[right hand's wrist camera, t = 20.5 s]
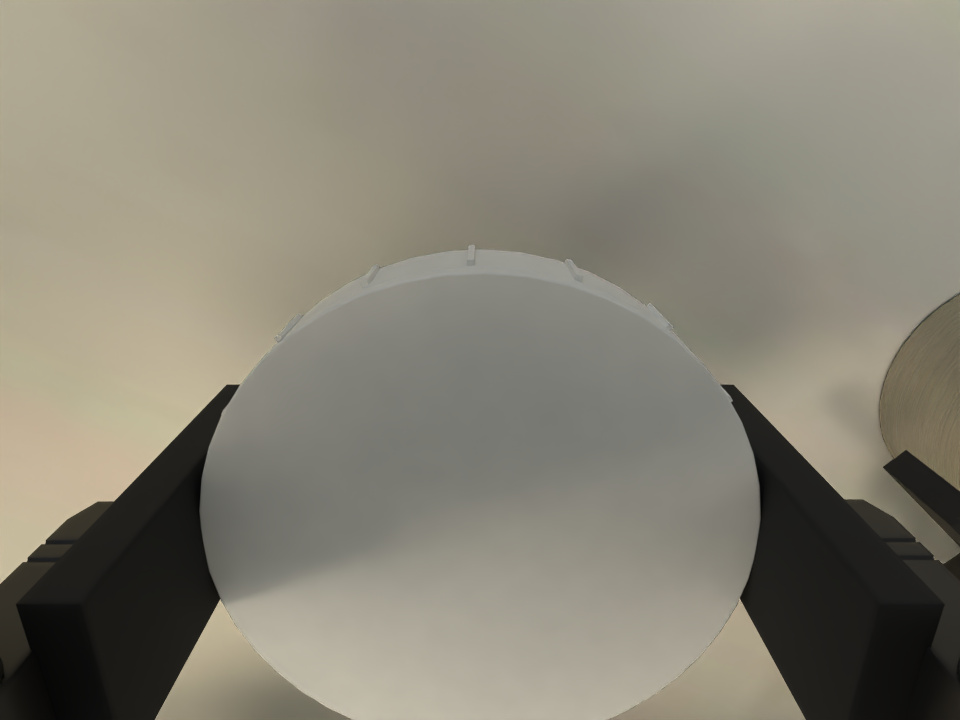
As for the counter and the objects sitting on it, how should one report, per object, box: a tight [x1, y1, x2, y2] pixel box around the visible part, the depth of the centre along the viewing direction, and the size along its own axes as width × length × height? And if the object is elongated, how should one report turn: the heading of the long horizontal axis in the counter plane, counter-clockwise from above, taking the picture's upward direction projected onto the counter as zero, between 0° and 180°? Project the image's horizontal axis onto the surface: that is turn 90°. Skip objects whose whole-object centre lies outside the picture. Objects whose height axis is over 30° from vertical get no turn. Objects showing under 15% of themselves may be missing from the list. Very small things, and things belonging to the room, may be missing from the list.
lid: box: [199, 245, 761, 720], centre depth 11 cm, size 9×9×2 cm
